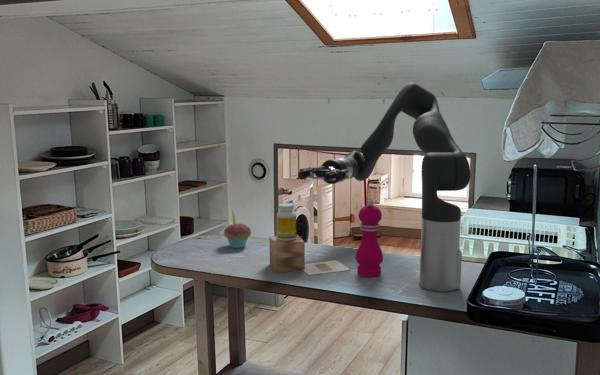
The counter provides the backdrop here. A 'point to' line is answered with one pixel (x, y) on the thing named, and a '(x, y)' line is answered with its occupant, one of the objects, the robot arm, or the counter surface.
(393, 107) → the robot arm
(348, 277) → the counter surface
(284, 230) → the supplement bottle
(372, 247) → the pepper mill
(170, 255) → the counter surface
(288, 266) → the tan cubic block
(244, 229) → the cupcake
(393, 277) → the counter surface
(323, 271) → the page
